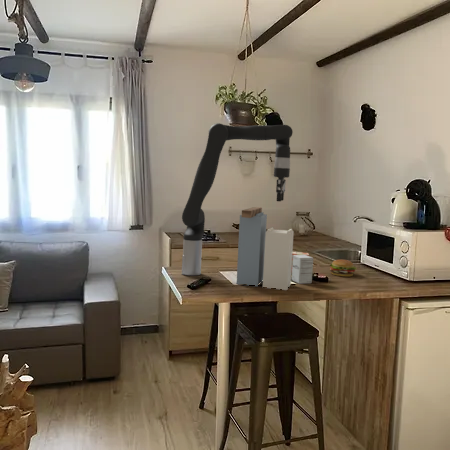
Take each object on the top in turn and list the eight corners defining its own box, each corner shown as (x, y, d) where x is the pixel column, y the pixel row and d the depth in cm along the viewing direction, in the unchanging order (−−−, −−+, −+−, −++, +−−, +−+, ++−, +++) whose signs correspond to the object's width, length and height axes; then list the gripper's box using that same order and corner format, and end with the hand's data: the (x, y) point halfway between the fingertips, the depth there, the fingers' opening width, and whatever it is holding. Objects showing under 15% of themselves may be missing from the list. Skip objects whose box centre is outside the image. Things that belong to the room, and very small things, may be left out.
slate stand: (257, 286, 218) (261, 214, 214) (236, 284, 221) (239, 213, 217) (263, 280, 230) (267, 212, 227) (243, 278, 233) (246, 211, 229)
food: (358, 278, 245) (359, 263, 244) (330, 276, 247) (331, 261, 247) (355, 273, 259) (356, 258, 258) (328, 271, 261) (329, 256, 260)
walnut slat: (250, 217, 207) (250, 211, 206) (241, 217, 208) (241, 210, 207) (261, 213, 230) (261, 207, 229) (253, 213, 231) (253, 207, 230)
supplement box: (291, 280, 234) (292, 254, 232) (304, 279, 236) (306, 254, 235) (298, 283, 227) (300, 257, 225) (312, 283, 229) (313, 257, 228)
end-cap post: (286, 290, 213) (290, 231, 210) (262, 287, 216) (265, 229, 213) (290, 284, 224) (293, 228, 221) (267, 282, 227) (270, 227, 224)
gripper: (288, 167, 222) (286, 202, 224) (291, 167, 236) (289, 200, 238) (272, 166, 224) (270, 201, 226) (276, 167, 238) (274, 199, 240)
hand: (280, 200), depth 232 cm, fingers open, 8 cm apart
